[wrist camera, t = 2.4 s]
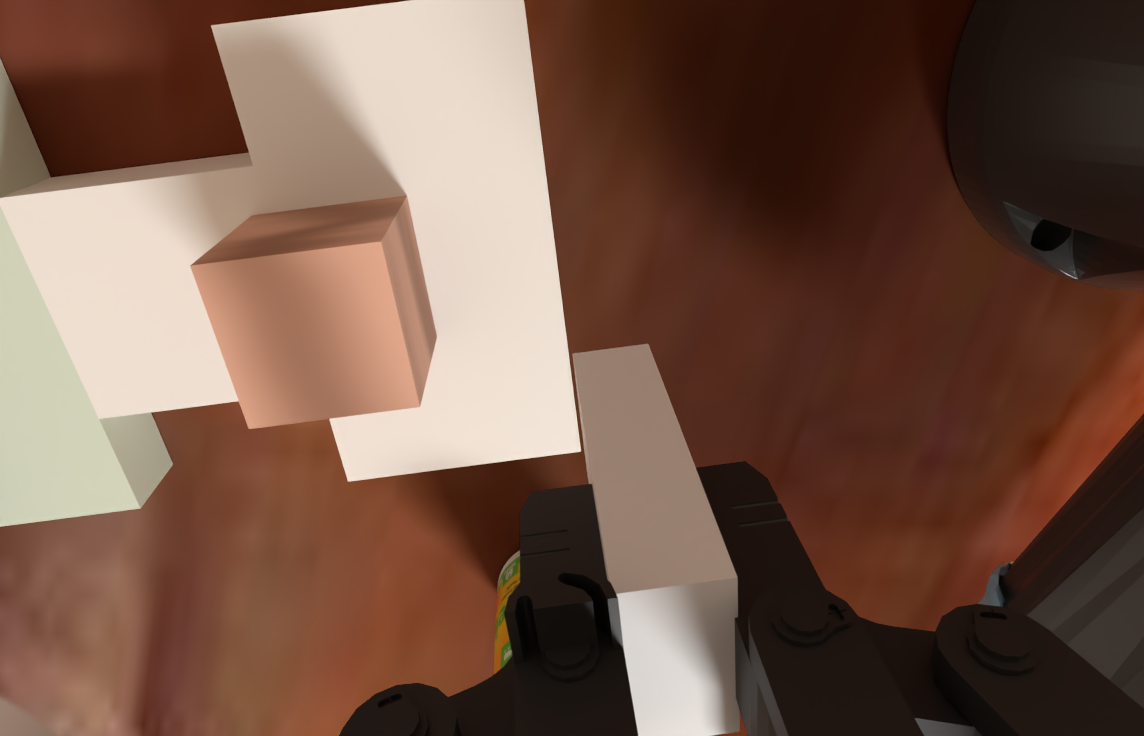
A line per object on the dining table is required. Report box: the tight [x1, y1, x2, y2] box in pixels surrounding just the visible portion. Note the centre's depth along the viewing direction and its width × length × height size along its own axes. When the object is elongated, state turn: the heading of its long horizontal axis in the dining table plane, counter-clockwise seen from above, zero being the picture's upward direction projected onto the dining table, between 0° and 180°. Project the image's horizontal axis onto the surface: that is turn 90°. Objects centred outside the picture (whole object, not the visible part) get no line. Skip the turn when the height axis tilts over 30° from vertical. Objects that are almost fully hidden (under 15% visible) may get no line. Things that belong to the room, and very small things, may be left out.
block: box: [190, 196, 437, 429], centre depth 23 cm, size 5×5×5 cm
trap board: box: [0, 0, 581, 526], centre depth 25 cm, size 24×16×6 cm, turn 96°
